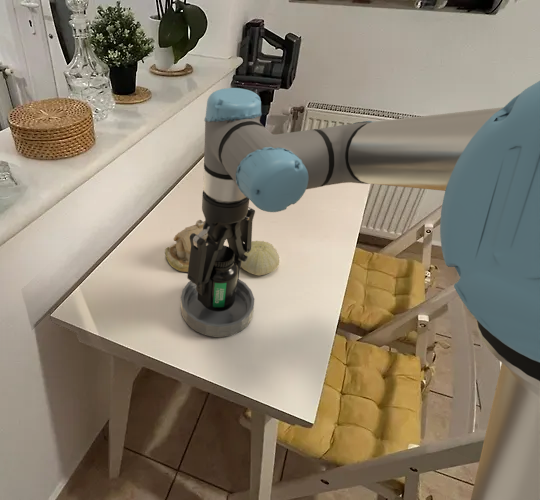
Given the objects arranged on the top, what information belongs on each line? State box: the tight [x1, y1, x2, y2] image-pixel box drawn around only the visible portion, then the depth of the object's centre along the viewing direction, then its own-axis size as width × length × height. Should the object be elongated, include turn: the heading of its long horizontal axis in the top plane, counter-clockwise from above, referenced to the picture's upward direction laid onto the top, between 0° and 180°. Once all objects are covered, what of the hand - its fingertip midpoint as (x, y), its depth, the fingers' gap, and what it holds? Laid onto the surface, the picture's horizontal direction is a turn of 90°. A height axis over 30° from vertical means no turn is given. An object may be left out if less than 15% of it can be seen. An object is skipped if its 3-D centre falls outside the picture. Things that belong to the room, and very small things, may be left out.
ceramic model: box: [164, 219, 205, 273], centre depth 95 cm, size 14×11×10 cm
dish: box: [180, 278, 255, 338], centre depth 85 cm, size 14×14×4 cm
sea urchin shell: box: [241, 240, 280, 277], centre depth 95 cm, size 9×8×8 cm
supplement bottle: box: [203, 245, 238, 312], centre depth 80 cm, size 7×7×12 cm
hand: (217, 292), depth 83 cm, fingers closed on supplement bottle, 7 cm apart
